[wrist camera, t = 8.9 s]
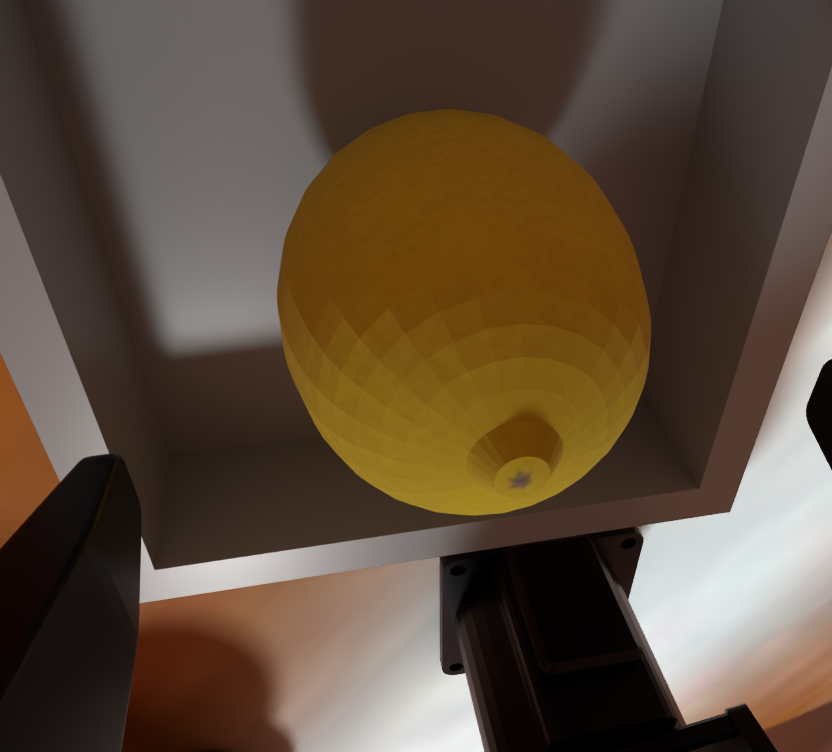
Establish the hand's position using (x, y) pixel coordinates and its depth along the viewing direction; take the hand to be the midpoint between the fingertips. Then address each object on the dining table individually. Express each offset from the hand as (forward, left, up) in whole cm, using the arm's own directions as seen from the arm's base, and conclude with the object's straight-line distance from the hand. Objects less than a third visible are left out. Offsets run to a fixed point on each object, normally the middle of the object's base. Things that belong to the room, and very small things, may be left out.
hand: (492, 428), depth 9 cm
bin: (0, 0, -8) cm, 8 cm away
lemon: (0, 0, -7) cm, 7 cm away
